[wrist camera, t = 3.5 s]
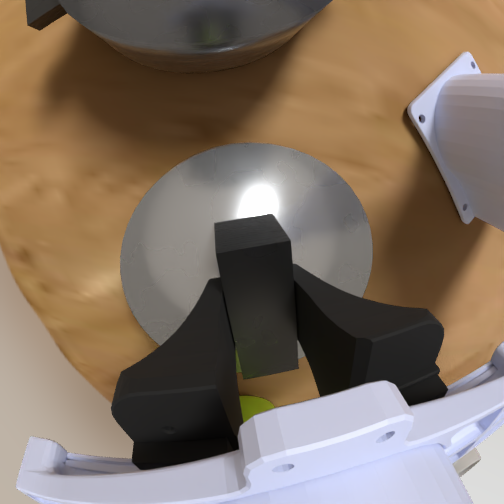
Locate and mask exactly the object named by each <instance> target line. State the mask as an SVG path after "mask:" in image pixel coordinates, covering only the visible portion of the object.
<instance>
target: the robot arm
mask: <svg viewBox="0 0 504 504" xmlns="http://www.w3.org/2000/svg"><path fill="white" fill-rule="evenodd" d="M407 112H408V115H409V117H410V119H411V120H412V122H413V124H414V125H415V127H416V129H417V130H418V132H419V134H420V135H421V137H422V139H423V140H424V142H425V144H426V146H427V148H428V149H429V151H430V153H431V155H432V157H433V159H434V161H435V163H436V164H437V166H438V168H439V170H440V172H441V174H442V177H443V179H444V181H445V183H446V185H447V187H448V189H449V191H450V194H451V196H452V198H453V200H454V203H455V205H456V208H457V210H458V212H459V215H460V217H461V220H462V222H464V223H465V224H469V223H470V222H471V221H472V220H473V218H474V217H477V218H479V219H481V220H483V221H485V222H487V223H488V224H490V225H492V226H494V227H496V228H498V229H500V230H501V231H503V232H504V74H481V72H480V70H479V68H478V66H477V64H476V62H475V60H474V59H473V57H472V55H471V54H470V53H469V52H463V53H462V54H461V55H460V56H459V57H457V58H456V59H455V60H454V61H453V62H452V63H451V64H450V65H449V66H448V67H447V68H446V69H445V70H444V71H443V72H442V73H441V74H440V75H439V76H438V77H437V78H436V79H435V80H434V81H433V82H432V83H431V84H430V85H429V86H428V87H427V88H426V89H425V90H424V91H423V92H422V93H421V94H419V95H418V96H417V97H416V98H415V99H414V100H413V101H412V102H411V103H410V104H409V106H408V109H407ZM419 116H420V117H421V122H419ZM293 274H294V289H295V305H296V323H297V339H298V341H299V343H300V345H301V347H302V350H303V352H304V354H305V356H306V358H307V360H308V362H309V365H310V367H311V370H312V373H313V376H314V379H315V382H316V385H317V388H318V391H319V394H320V397H318V398H315V399H311V400H307V401H303V402H298V403H294V404H290V405H285V406H281V407H276V408H273V409H270V410H267V411H264V412H261V413H258V414H255V415H254V416H253V417H251V418H250V419H249V420H247V421H246V422H245V423H244V421H243V416H242V410H241V404H240V398H239V392H238V385H237V374H236V347H235V341H234V337H233V333H232V328H231V324H230V319H229V315H228V310H227V306H226V301H225V296H224V292H223V287H222V282H221V278H220V277H217V278H212V279H209V280H208V282H207V284H206V286H205V288H204V290H203V292H202V294H201V296H200V298H199V299H198V301H197V303H196V305H195V306H194V308H193V309H192V311H191V312H190V314H189V315H188V317H187V318H186V320H185V321H184V322H183V324H182V325H181V326H180V327H179V328H178V329H177V331H176V332H175V333H174V334H173V335H172V336H170V337H169V338H168V339H167V340H166V341H165V342H164V343H163V344H162V345H161V346H160V347H158V348H157V349H156V350H155V351H153V352H152V353H151V354H149V355H148V356H147V357H145V358H144V359H142V360H141V361H139V362H137V363H136V364H134V365H132V366H131V367H129V368H127V369H125V370H124V371H122V372H121V374H120V377H119V379H118V382H117V385H116V389H115V393H114V398H113V402H112V406H111V411H112V415H113V417H114V418H115V420H116V422H117V423H118V424H119V425H120V426H121V428H122V429H123V430H124V431H125V432H126V433H127V434H128V436H129V437H130V438H131V439H132V440H133V441H134V445H133V454H132V459H127V458H111V457H100V456H91V455H83V454H76V453H69V452H67V451H66V450H65V449H64V448H63V447H62V446H61V445H60V444H58V443H57V442H55V441H52V440H50V439H44V438H39V437H34V436H30V438H29V441H28V444H27V447H26V451H25V454H24V457H23V461H22V464H21V468H20V471H19V475H18V479H17V484H16V488H17V489H18V490H19V491H21V492H22V493H24V494H25V495H27V496H29V497H30V498H32V499H33V500H35V501H37V502H38V503H40V504H473V502H472V500H471V498H470V496H469V494H468V492H467V490H466V489H465V486H464V485H463V483H462V481H461V479H460V477H459V475H458V474H457V472H456V470H455V468H454V466H453V465H452V464H453V463H454V462H456V461H457V460H459V459H460V458H462V457H463V456H464V455H466V454H467V453H468V452H470V451H471V450H472V449H474V448H475V447H476V446H478V445H479V444H480V443H481V442H482V441H484V440H485V439H486V438H488V437H489V436H490V435H491V434H492V433H494V432H495V431H496V430H497V429H498V428H499V427H501V426H502V425H503V424H504V342H502V343H501V344H500V345H499V346H498V347H497V348H496V350H495V351H494V353H493V355H492V358H491V361H489V362H488V363H486V364H485V365H483V366H481V367H480V368H478V369H477V370H475V371H473V372H472V373H470V374H468V375H467V376H465V377H463V378H461V379H460V380H458V381H456V382H454V383H453V384H451V385H449V386H447V387H446V385H445V384H444V383H443V381H442V380H441V379H440V377H439V376H438V374H439V372H440V369H439V367H438V366H437V365H436V364H435V361H436V359H437V356H438V354H439V351H440V348H441V345H442V342H443V338H444V328H443V326H442V324H441V323H440V322H439V321H438V320H437V319H436V318H435V317H434V316H433V315H432V314H431V313H430V312H429V311H428V310H427V309H423V308H409V307H400V306H393V305H388V304H383V303H378V302H375V301H371V300H367V299H364V298H361V297H358V296H355V295H353V294H350V293H347V292H345V291H343V290H340V289H338V288H336V287H334V286H332V285H330V284H328V283H327V282H325V281H323V280H321V279H320V278H318V277H316V276H315V275H313V274H311V273H310V272H308V271H307V270H305V269H303V268H302V267H300V266H299V265H297V264H293Z"/></svg>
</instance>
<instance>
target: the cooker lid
mask: <svg viewBox="0 0 504 504" xmlns="http://www.w3.org/2000/svg"><path fill="white" fill-rule="evenodd" d="M372 258H373V243H372V236H371V230H370V226H369V222H368V219H367V216H366V213H365V211H364V209H363V207H362V205H361V203H360V201H359V199H358V198H357V196H356V195H355V193H354V192H353V190H352V189H351V187H350V186H349V185H348V184H347V183H346V182H345V181H344V180H343V179H342V178H341V177H340V175H338V174H337V173H336V172H335V171H333V170H332V169H331V168H330V167H328V166H327V165H326V164H324V163H322V162H321V161H319V160H317V159H315V158H314V157H312V156H310V155H308V154H305V153H302V152H300V151H297V150H294V149H292V148H288V147H284V146H280V145H275V144H270V143H260V142H242V143H230V144H226V145H222V146H217V147H213V148H210V149H207V150H205V151H202V152H200V153H197V154H195V155H193V156H191V157H189V158H187V159H186V160H184V161H182V162H180V163H179V164H177V165H176V166H175V167H173V168H172V169H171V170H169V171H168V172H167V173H165V174H164V175H163V176H162V177H161V178H160V179H159V180H158V181H157V182H156V183H155V184H154V185H153V186H152V188H151V189H150V190H149V191H148V192H147V193H146V194H145V196H144V197H143V199H142V200H141V201H140V203H139V204H138V206H137V207H136V209H135V211H134V213H133V215H132V217H131V219H130V221H129V223H128V225H127V229H126V232H125V235H124V238H123V242H122V249H121V256H120V273H121V280H122V286H123V290H124V293H125V296H126V300H127V302H128V304H129V307H130V309H131V311H132V313H133V315H134V316H135V318H136V319H137V321H138V322H139V324H140V325H141V327H142V328H143V329H144V330H145V331H146V333H147V334H148V335H149V336H150V337H151V338H152V339H153V340H154V341H155V342H156V343H158V344H159V345H160V346H161V345H162V344H163V343H164V342H165V341H166V340H167V339H168V338H169V337H170V336H172V335H173V334H174V333H175V332H176V331H177V329H178V328H179V327H180V326H181V325H182V324H183V322H184V321H185V320H186V318H187V317H188V315H189V314H190V312H191V311H192V309H193V308H194V306H195V305H196V303H197V301H198V299H199V298H200V296H201V294H202V292H203V290H204V288H205V286H206V284H207V282H208V280H209V279H212V278H217V277H220V278H221V282H222V287H223V292H224V296H225V301H226V306H227V310H228V315H229V319H230V324H231V328H232V333H233V337H234V341H235V347H236V372H242V375H243V379H250V378H255V377H261V376H266V375H271V374H276V373H281V372H285V371H290V370H294V369H299V367H298V359H300V358H302V357H304V356H305V354H304V352H303V350H302V347H301V345H300V343H299V341H298V339H297V323H296V305H295V289H294V274H293V264H297V265H299V266H300V267H302V268H303V269H305V270H307V271H308V272H310V273H311V274H313V275H315V276H316V277H318V278H320V279H321V280H323V281H325V282H327V283H328V284H330V285H332V286H334V287H336V288H338V289H340V290H343V291H345V292H347V293H350V294H353V295H355V296H358V297H361V298H362V297H363V294H364V292H365V289H366V287H367V284H368V280H369V276H370V273H371V266H372Z"/></svg>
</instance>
